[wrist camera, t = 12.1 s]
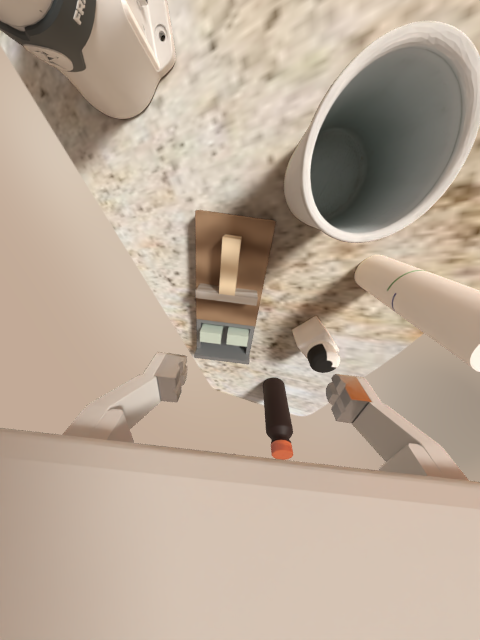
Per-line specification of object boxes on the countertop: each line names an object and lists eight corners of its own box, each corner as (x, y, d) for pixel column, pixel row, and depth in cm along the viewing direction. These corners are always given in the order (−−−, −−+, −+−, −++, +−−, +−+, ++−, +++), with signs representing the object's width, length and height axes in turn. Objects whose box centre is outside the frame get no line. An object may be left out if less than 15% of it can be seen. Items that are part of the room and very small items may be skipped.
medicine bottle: (304, 346, 51) (318, 381, 41) (291, 329, 48) (302, 362, 38) (329, 333, 48) (350, 367, 38) (316, 314, 46) (335, 345, 35)
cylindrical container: (351, 289, 42) (456, 374, 20) (358, 256, 38) (495, 320, 17) (385, 286, 41) (531, 371, 20) (395, 252, 37) (588, 314, 16)
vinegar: (283, 391, 61) (295, 462, 44) (262, 391, 62) (267, 461, 45) (284, 377, 58) (299, 448, 41) (263, 377, 58) (268, 447, 41)
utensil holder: (267, 216, 35) (280, 224, 20) (298, 105, 27) (356, -17, 12) (339, 236, 36) (401, 257, 21) (388, 135, 28) (540, 56, 14)
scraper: (200, 230, 33) (194, 233, 30) (266, 239, 33) (268, 243, 30) (200, 289, 39) (195, 297, 36) (255, 297, 39) (256, 305, 36)
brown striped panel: (200, 210, 35) (195, 210, 32) (273, 220, 35) (275, 221, 32) (200, 310, 47) (196, 318, 43) (254, 317, 47) (255, 326, 43)
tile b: (227, 334, 43) (226, 344, 44) (248, 336, 43) (246, 346, 44) (229, 322, 47) (228, 332, 49) (248, 325, 47) (247, 334, 49)
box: (200, 311, 47) (193, 324, 42) (254, 318, 47) (255, 332, 42) (199, 342, 52) (194, 357, 47) (248, 348, 52) (248, 364, 47)
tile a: (199, 331, 43) (199, 341, 44) (221, 334, 43) (220, 344, 44) (204, 320, 47) (204, 329, 49) (223, 322, 47) (223, 332, 49)
